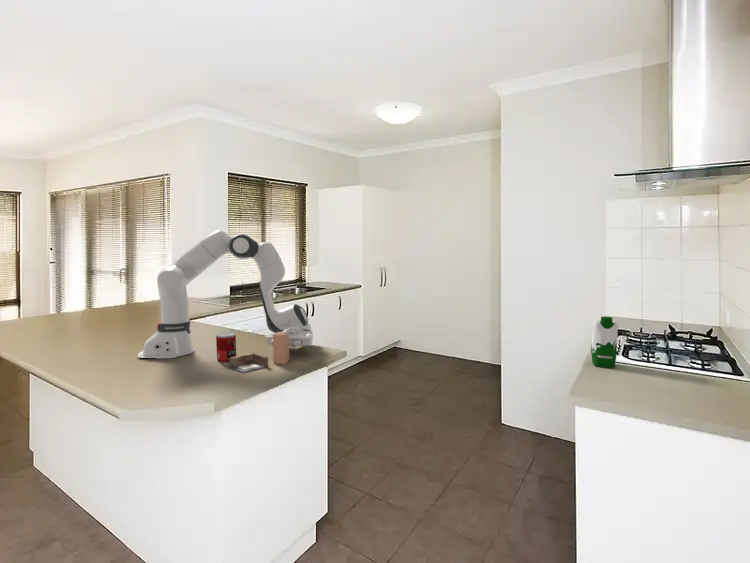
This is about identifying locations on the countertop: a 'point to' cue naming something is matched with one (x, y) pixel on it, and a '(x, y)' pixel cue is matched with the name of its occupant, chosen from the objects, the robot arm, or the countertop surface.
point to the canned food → (225, 346)
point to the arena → (248, 362)
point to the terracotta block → (281, 347)
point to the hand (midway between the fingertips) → (283, 343)
